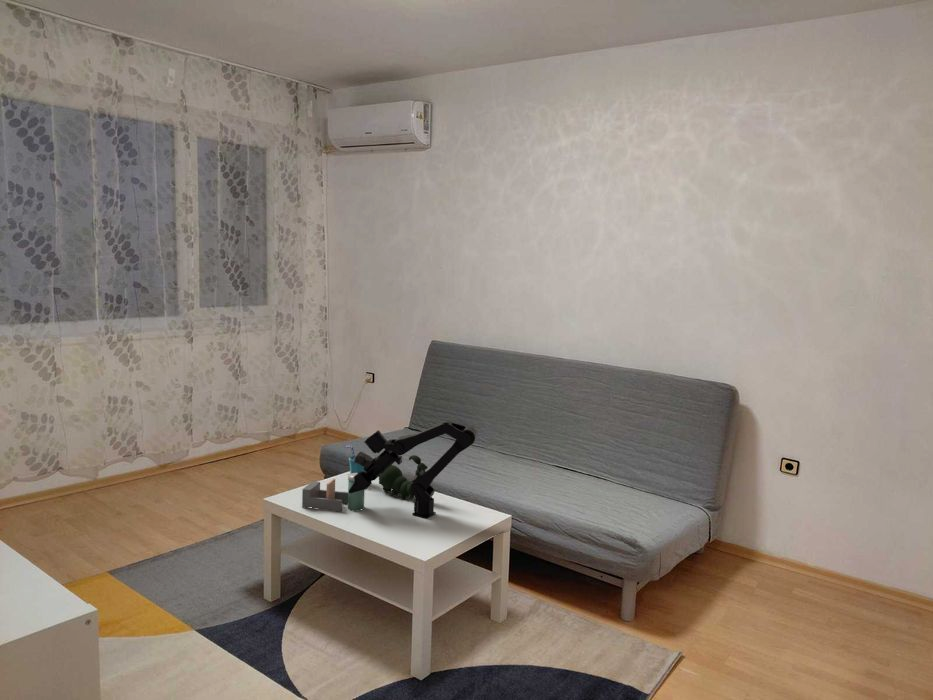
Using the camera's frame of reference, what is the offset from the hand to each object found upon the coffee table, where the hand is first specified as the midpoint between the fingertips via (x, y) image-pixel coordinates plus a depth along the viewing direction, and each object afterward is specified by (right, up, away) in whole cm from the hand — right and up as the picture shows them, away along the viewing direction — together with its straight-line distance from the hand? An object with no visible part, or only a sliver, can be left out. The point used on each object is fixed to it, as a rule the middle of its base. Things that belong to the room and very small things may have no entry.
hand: (352, 488), depth 251 cm
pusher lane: (-10, -7, +2) cm, 12 cm away
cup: (-4, -4, +31) cm, 31 cm away
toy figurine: (+16, -6, +17) cm, 24 cm away
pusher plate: (-8, -7, +2) cm, 11 cm away
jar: (+1, -7, +1) cm, 7 cm away
